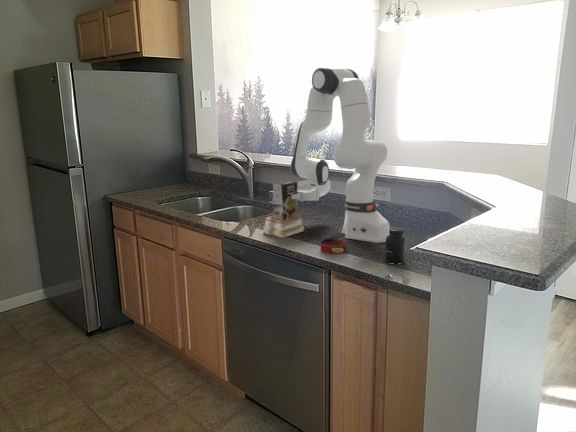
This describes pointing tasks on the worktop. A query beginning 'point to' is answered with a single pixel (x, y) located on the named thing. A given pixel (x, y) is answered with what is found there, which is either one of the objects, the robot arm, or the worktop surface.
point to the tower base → (283, 232)
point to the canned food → (333, 243)
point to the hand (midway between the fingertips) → (282, 195)
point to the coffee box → (284, 200)
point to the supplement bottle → (395, 246)
